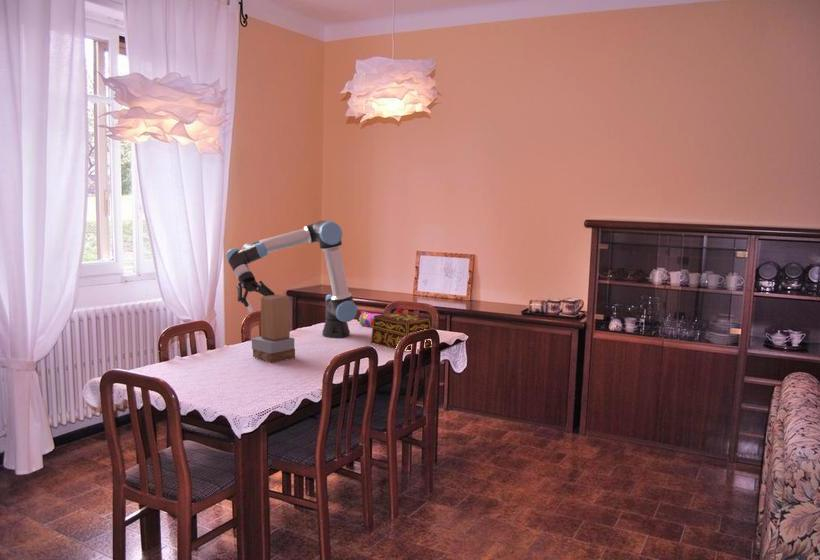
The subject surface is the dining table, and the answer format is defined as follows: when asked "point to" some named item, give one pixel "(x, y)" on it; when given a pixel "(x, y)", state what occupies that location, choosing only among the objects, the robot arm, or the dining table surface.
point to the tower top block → (272, 344)
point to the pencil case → (366, 318)
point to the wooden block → (275, 317)
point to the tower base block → (274, 355)
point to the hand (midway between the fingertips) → (263, 309)
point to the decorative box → (397, 328)
